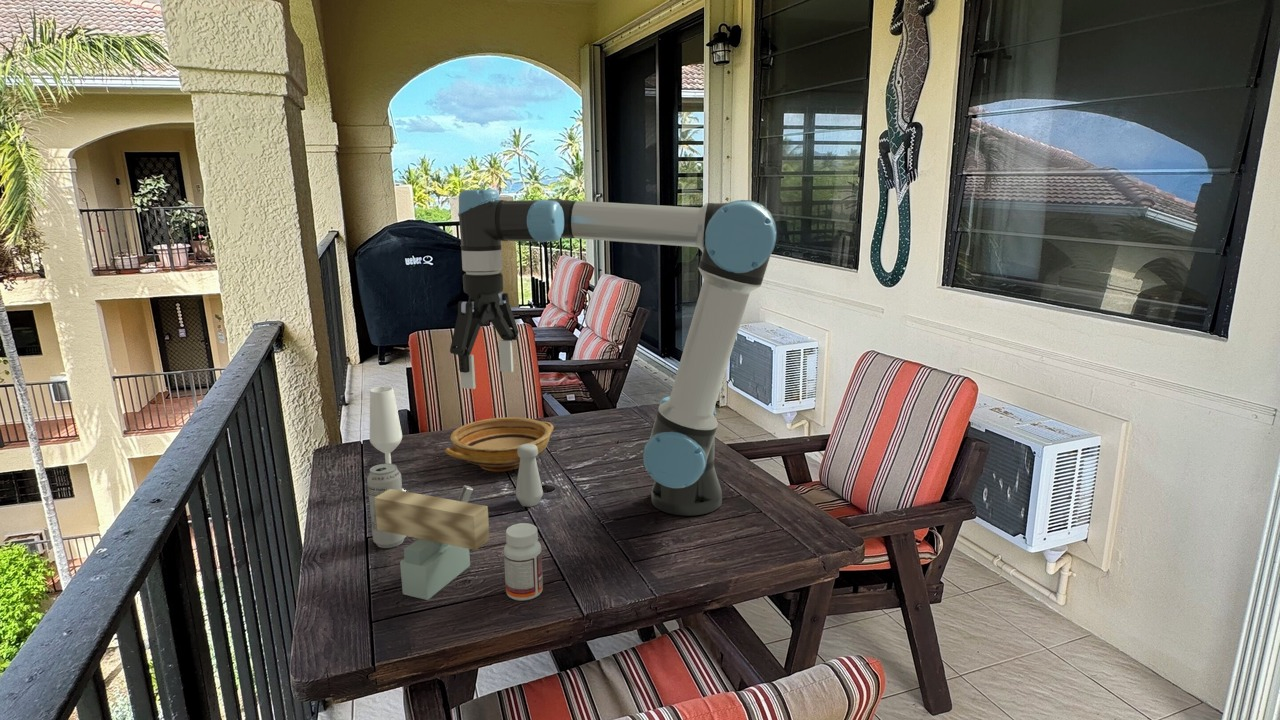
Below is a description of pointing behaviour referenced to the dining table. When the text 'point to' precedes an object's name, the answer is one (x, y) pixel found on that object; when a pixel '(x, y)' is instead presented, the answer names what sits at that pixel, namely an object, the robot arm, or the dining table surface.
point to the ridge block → (431, 567)
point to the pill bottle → (523, 562)
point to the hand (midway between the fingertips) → (488, 379)
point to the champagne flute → (384, 421)
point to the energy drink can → (378, 483)
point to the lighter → (465, 494)
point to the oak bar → (432, 518)
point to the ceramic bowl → (498, 441)
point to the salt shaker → (528, 476)
